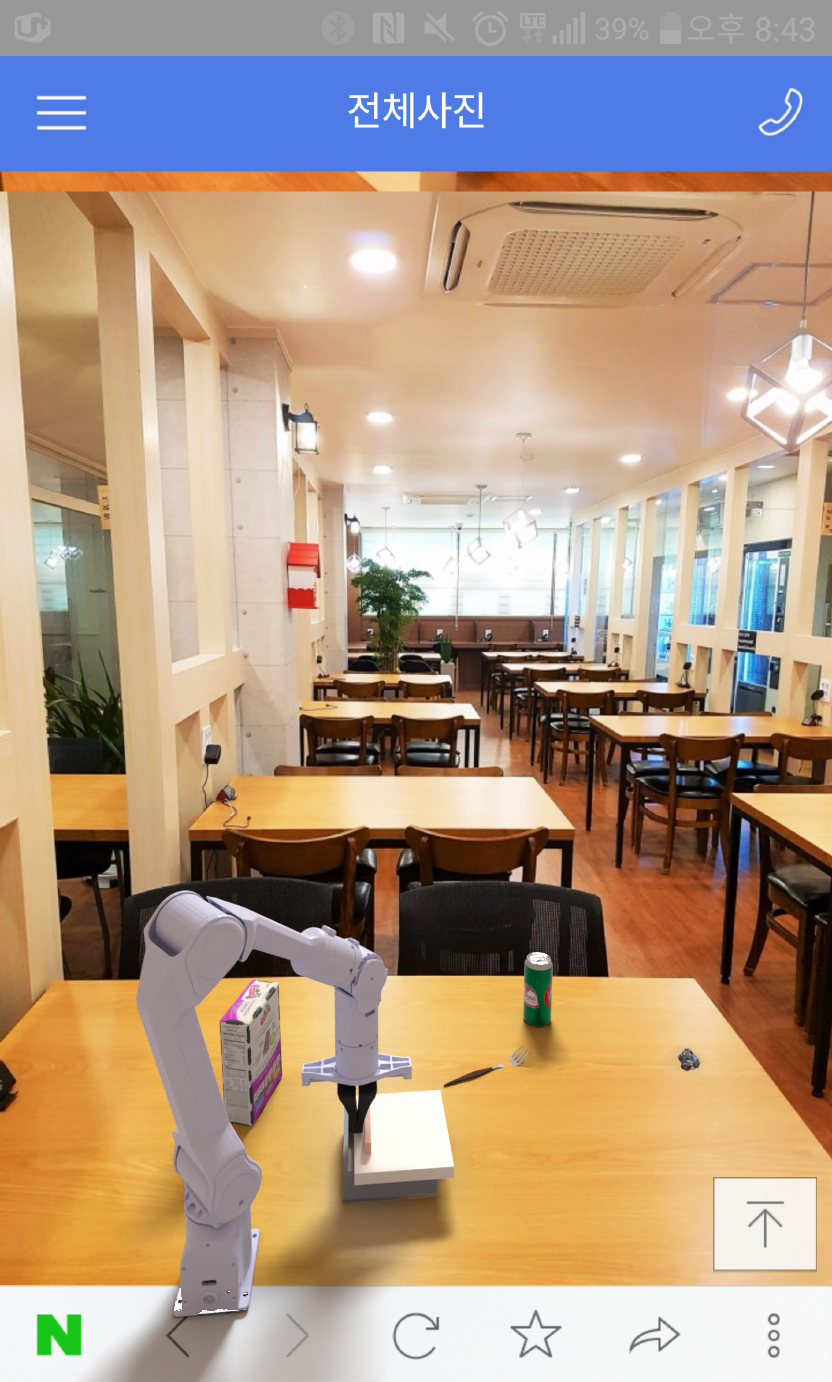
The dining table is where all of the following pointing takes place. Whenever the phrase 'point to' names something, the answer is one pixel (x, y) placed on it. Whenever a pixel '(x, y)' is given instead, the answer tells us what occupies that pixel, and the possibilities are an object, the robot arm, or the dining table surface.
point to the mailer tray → (381, 1189)
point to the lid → (403, 1140)
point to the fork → (486, 1070)
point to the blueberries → (688, 1060)
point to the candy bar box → (251, 1051)
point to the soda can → (537, 989)
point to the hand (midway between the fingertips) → (357, 1127)
